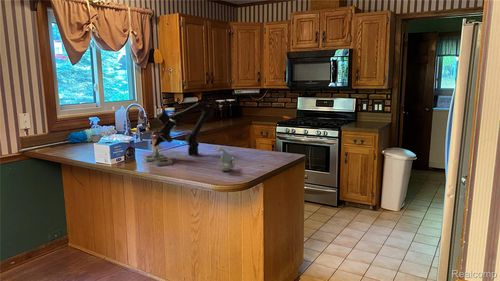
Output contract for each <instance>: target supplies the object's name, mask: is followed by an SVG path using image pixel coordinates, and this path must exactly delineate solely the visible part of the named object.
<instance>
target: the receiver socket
mask: <svg viewBox="0 0 500 281" xmlns="http://www.w3.org/2000/svg"><path fill="white" fill-rule="evenodd" d="M154 163H155V165H156V166H157V167H163V166H172V165H173V164H174V163H173V161H172V160H171V159H170V158H167V159H163V160H155V161H154Z"/></svg>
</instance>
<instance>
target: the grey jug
mask: <svg viewBox="0 0 500 281" xmlns="http://www.w3.org/2000/svg"><path fill="white" fill-rule="evenodd" d="M216 152H217V153H221V152H222V155H220V162H219V161H218V164H220V165H219V169H222V170H223V171H225V172H228V171H230V170H231V169H232V168H235V166H236V165H235V162H236V161H235V159H234V156H231V154H230V153H229V152H228V151H227V150H225V149H224V148H222V147H221V146H218V147H217V149H216Z"/></svg>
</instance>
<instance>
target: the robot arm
mask: <svg viewBox="0 0 500 281" xmlns="http://www.w3.org/2000/svg"><path fill="white" fill-rule="evenodd" d="M198 110H200V111H201V115H200V117H199V118H198V121H197V122H196V124H195V126H194V127H193V129H192V130H191V132H187V134H186V136H185V138H184V142H185V143H186V144H187V146H188V148H187V153H188V155H189V156H195V155H199V146H200V143H199V142H198V141H197V139H198V134H199V133H200V131H201V129H202V128H203V126H204V124H205V122H206V120H207V119H208V118H209V117H211V116H212V115H213V113H214V112H215V109H214V107H213V106H212V105H205V104H202V103H199V102H196V103H194V104H193V105H191V106H189V107H187V108H186V109H183V110H181V111H177V112H173V113H172V114H170V115H168V114H167V113H166V111H162V112H160V113H158V115H157V116H156V119H157V120H159V122H160V123H161V124H164V125H162V126H161V128H160V129H159V130H154V131H153V132H152V135H159V136H158V138H157V140H156V142H155V145H154V146H155V147H156V146H157V145H159V146H160V144H162V143H165V142H167V143H169V144H170V143H171V142H173V141H174V139H173V137H172V136H171V132H172V130H173V128H174V127H176V128H179V126H178V124H179V122H181V121H182V120H184V118H185V117H187V116H188V115H190V114H192V113H194V112H196V111H198ZM149 144H150V145H152V138H151V140H150V143H149Z"/></svg>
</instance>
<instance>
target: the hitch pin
mask: <svg viewBox="0 0 500 281" xmlns="http://www.w3.org/2000/svg"><path fill="white" fill-rule="evenodd" d="M158 136H159V135H153V134H151V135H150V138H151V139H152V144H151V145H152V146H151V147H152V148H151V149H152V155H153V158H160V156H159V155H160V144H159V145H157V146H156V147H155V146H154V145H155V142H156V140H157V138H158Z"/></svg>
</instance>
